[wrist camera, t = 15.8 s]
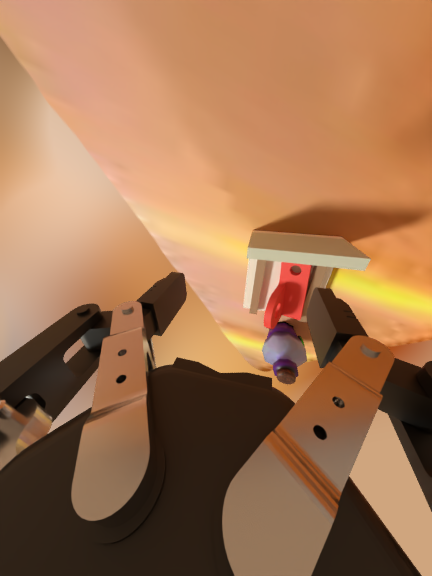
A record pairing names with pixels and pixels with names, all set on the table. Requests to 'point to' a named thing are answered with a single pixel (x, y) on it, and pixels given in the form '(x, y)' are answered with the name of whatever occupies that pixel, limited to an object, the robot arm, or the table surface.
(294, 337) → the potion bottle
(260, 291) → the cleat board
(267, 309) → the bracket
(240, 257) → the table surface
